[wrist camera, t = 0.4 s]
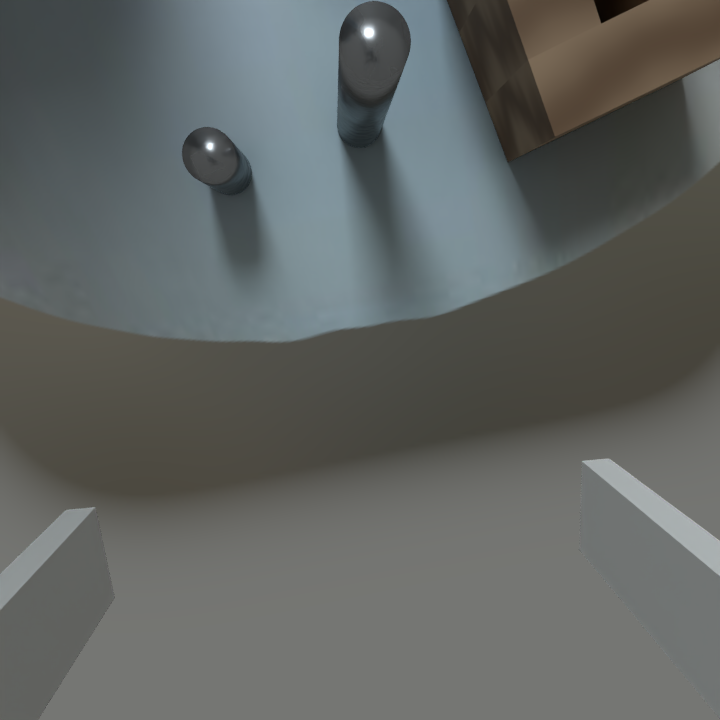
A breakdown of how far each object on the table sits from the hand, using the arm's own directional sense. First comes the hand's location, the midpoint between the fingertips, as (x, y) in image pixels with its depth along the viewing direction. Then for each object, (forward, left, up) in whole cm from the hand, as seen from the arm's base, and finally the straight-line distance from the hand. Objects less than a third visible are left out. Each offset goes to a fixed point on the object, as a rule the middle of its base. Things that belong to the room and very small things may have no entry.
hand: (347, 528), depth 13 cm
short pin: (-15, -1, -26) cm, 30 cm away
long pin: (-14, +9, -26) cm, 31 cm away
